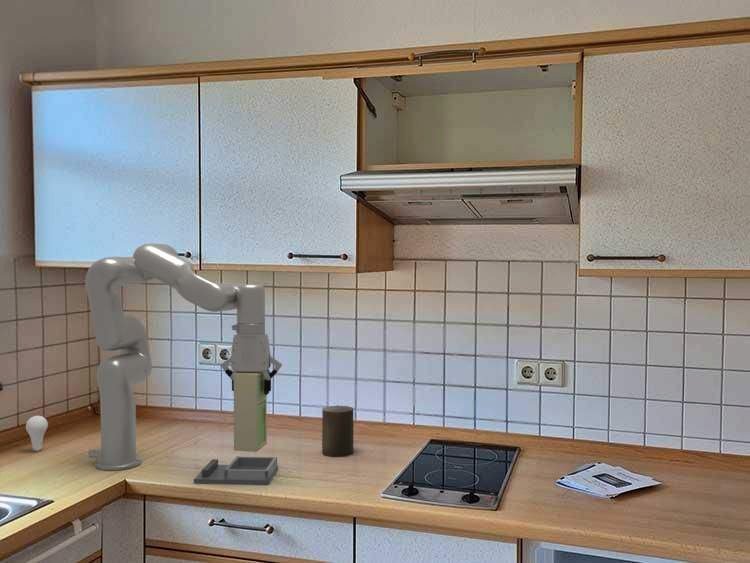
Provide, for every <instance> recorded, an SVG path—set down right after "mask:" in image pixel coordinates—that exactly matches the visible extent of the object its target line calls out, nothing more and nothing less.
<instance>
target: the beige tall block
mask: <svg viewBox="0 0 750 563" xmlns="http://www.w3.org/2000/svg"><path fill="white" fill-rule="evenodd" d="M265 380H266V378H265V376H264V374H263V373H262V372H236V373H234V391H233V451H237V452H248V453H249V452H252V453H256V452H259V451H260V450H261V449H262V448H263V447H264V446H266V445H267V443H268V442H267V441H268V439H267V438H268V437H267V434H268V433H267V431H268V430H267V429H268V427H267V422H268V421H267V415H268V414H267V404H268V403H267V401H268V400H267V399H268V398H267V396H268V395H265V394H264V381H265Z"/></svg>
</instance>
